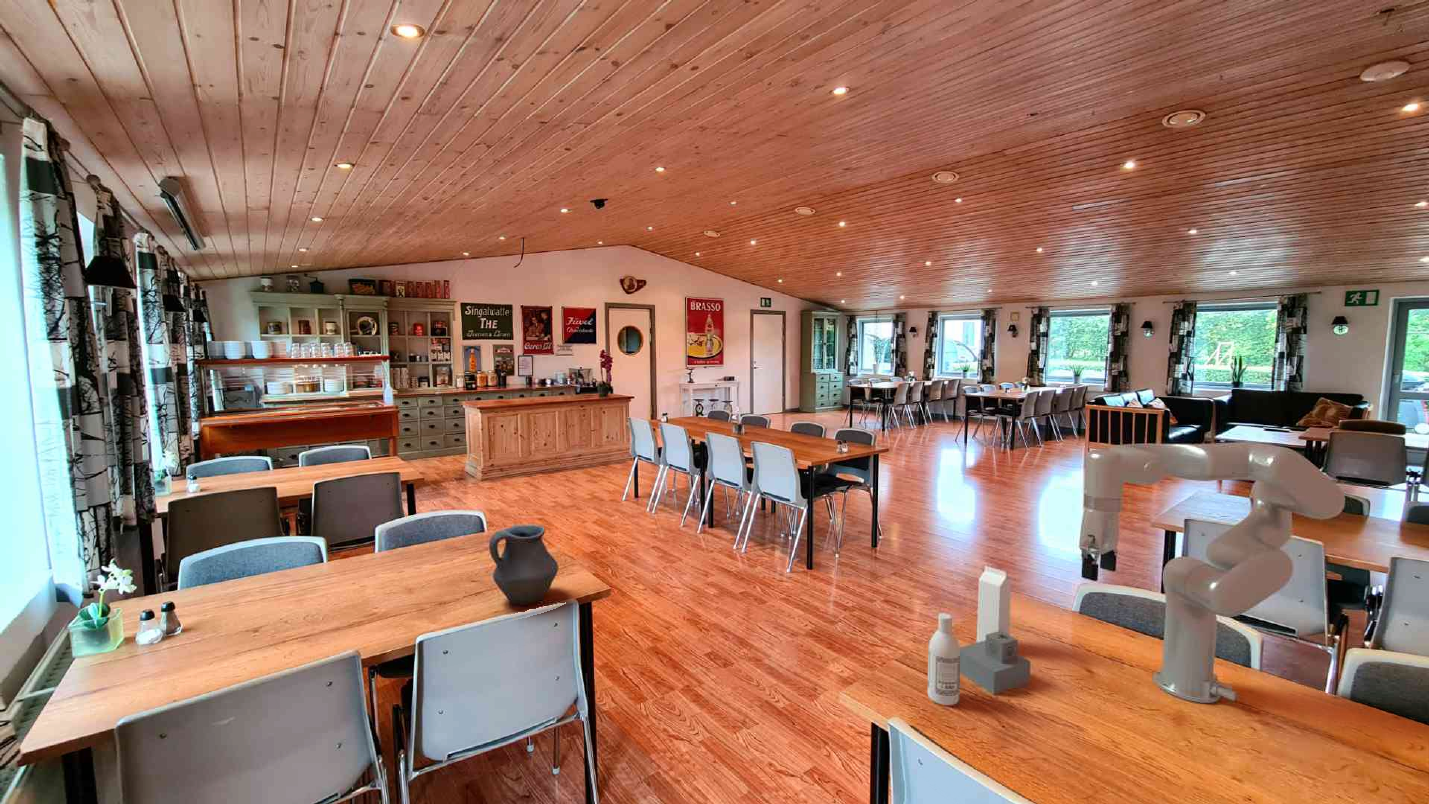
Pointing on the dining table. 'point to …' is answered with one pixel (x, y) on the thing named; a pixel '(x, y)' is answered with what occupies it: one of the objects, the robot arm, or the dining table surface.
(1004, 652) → the dice cube
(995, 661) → the grey block
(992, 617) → the milk
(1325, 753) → the dining table surface
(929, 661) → the bath foam
